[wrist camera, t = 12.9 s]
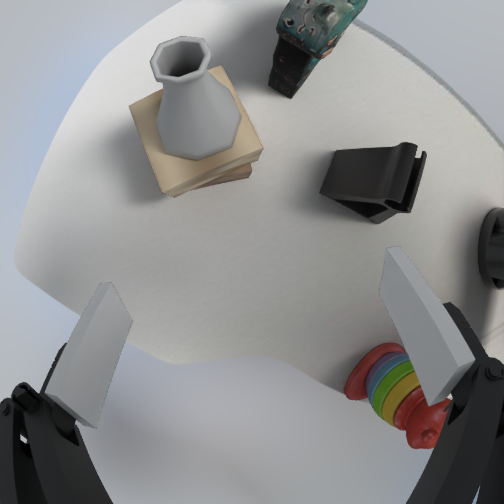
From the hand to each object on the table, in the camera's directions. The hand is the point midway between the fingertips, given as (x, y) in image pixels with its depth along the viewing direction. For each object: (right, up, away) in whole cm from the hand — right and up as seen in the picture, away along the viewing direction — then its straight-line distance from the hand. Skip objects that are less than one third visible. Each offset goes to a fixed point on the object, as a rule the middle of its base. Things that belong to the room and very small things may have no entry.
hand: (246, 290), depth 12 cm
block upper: (-5, +13, +13) cm, 19 cm away
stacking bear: (+20, -16, +24) cm, 35 cm away
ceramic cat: (+8, +29, +17) cm, 35 cm away
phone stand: (+13, +10, +20) cm, 26 cm away
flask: (-4, +13, +9) cm, 16 cm away
